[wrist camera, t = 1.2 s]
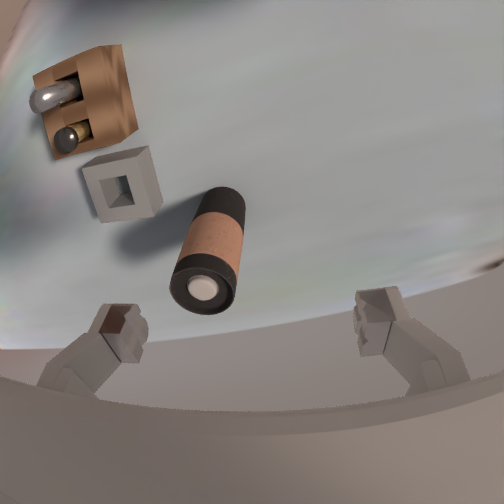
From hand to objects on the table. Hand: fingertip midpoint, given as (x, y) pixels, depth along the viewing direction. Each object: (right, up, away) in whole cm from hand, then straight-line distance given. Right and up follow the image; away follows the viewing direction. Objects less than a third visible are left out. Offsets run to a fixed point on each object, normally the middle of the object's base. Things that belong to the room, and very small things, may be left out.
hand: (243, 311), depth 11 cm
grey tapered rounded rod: (-24, +28, +27) cm, 46 cm away
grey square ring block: (-20, +14, +37) cm, 44 cm away
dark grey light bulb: (-23, +21, +28) cm, 42 cm away
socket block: (-24, +26, +28) cm, 45 cm away
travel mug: (-4, +10, +40) cm, 41 cm away
